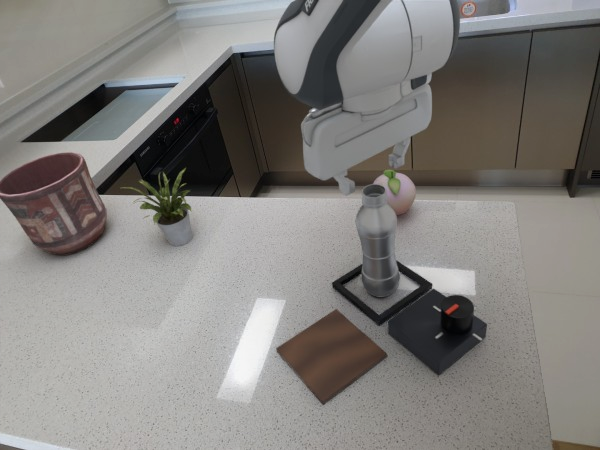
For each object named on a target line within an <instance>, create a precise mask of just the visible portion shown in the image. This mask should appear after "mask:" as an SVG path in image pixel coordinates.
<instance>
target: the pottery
mask: <svg viewBox="0 0 600 450" xmlns="http://www.w3.org/2000/svg"><path fill="white" fill-rule="evenodd" d="M0 200H1V201H2V202H3V204H4V205H5V206H6V208H7V209H8V211H10V213H11V214H12V215H13V216H14V218H15V219H16V221H17V222H18V224H19V225H20V226H21V229H22V230H23V231H24V233H25V234H26V237H28V239H29V240H30V242H31V243H32V244H33V245H34V246H35V247H36V248H37V249H40V250H42V251H44V252H46V253H49V254H54V255H58V256H67V255H71V254H77V253H78V252H81V251H83V250H86V249H87V248H88V247H90V246H92V245H93V244H94V243H95V242H96V241H98V240H99V238H100V236H101V235H102V234H103V232H104V230H105V228H106V222H107V215H108V213H107V208H106V206H105V203H104V202H103V200H102V198H101V196H100V194H99V192H98V190H97V188H96V186H95V183H94V180H93V178H92V176H91V174H90V171H89V167H88V164H87V162H86V158H84V156H83V155H82V154H81V153H77V152H72V151H70V152H69V151H68V152H57V153H53V154H48V155H43V156H41V157H38V158H35V159H32V160H30V161H28V162H26V163H23V164H22V165H19V166H18V167H16V168H14V169H12V170H11V171H10V172H8V173H7V174H5V175H4V176H3V177H2V178H1V179H0Z"/></svg>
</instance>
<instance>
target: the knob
mask: <svg viewBox="0 0 600 450" xmlns="http://www.w3.org/2000/svg"><path fill="white" fill-rule="evenodd" d="M474 307H475V305H474V303H473V302H472V300H470V299H469V298H468V297H467V296H465V295H460V294H452V295H448V296H446V298H445V299H444V300H443V301H442V303H441V325H442V327H443V328H444V329H445V330H446V331H448V332H450V333H453V334H464V333H467V332H468V331H470V329H471V328H472V325H473V315H475V314H474V313H475V310H474Z"/></svg>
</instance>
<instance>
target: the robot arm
mask: <svg viewBox="0 0 600 450" xmlns="http://www.w3.org/2000/svg"><path fill="white" fill-rule="evenodd" d="M460 26H461V14H460V6H459V3H458V0H293V1H292V2H289V4H288V5H287V7H286V9H285V10H284V11H283V14H282V15H281V16H280V19H279V21H278V23H277V26H276V28H275V30H274V31H275V32H274V36H273V53H274V61H275V65H276V69H277V73H278V76H279V79H280V82H281V83H282V86H283V88H284V89H285V91H286V92H287V94H289V95H290V96H291V97H292V98H294V99H296V100H297V101H299V102H300V103H302V104H304V105H306V106H308V107H310V108H311V109H310V110H308V114H307V115H305V117H304V118H303V121H302V122H301V123H300V129H301V136H302V155H303V165H304V169H305V171H306V172H307V173H308V174H309V175H311V176H312V177H314V178H317V179H319V180H321V181H323V182H324V181H327V180H330V179H331V178H333V179H334V180H335V181H336V183H337V182H338V190H339V192H340V193H341V194H342V195H344V196H345V197H347V196H349V195H351V194H353V193H355V192H356V188H355V187H356V183H355V181H354V180H353V179H350V178H348V177H346V176H348V170H349V169H351V168H352V167H355V166H357V165H358V164H360V163H362V162H364V161H367V160H368V159H370V158H372V157H374V156H376V155H378V154H380V153H382V152H384V151H386V150H388V149H389V148H392V147H393V150H392V153H390V154H388V165H389V167H391V168H393V169H395V170H396V169H398V168H401V167H403V166H404V165H405V155H406V154H407V151H408V149H409V146H410V144H411V137H413V136H415V135H417V134H418V133H421V132H422V131H425V130H426V129H427V128H428V127H429V125H430V123H431V121H432V116H433V115H432V114H433V94H432V88H431V86H430V82H431V80H432V75H433V73H434V72H436V71H438V70H441V69H443V68H444V67H445V66H446V65H447V64H448V63H449V61H450V59H451V58H452V57H453V54H454V52H455V50H456V48H457V45H458V41H459V36H460V29H461V27H460Z"/></svg>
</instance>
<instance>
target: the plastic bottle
mask: <svg viewBox="0 0 600 450" xmlns="http://www.w3.org/2000/svg"><path fill="white" fill-rule="evenodd" d="M387 201H388V198H387V192H386V188H385V187H384V186H382V185H380V184H373V183H371V184H368V185H365V186H364V187H363V188H362V190H361V204H362V205H361V207H359V210H358V211H357V213H356V216H355V220H354V221H355V222H354V223H355V226H356V227H355V228H356V230H357V234H358V238H359V241H360V248H361V253H362V256H361V257H362V260H361V261H362V263H361V264H362V272H361V275H360V280H361V284H362V286H363V289H364V290H365V291H366V292H367V293H369V294H370V295H371V296H373V297H377V298H385V297H389V296H390V295H392V294H393V293H394V292H396V290H397V289H398V288H399V285H400V279H401V275H400V274H401V273H400V272H399V270H398V266H397V263H396V260H397V257H396V235H397V226H398V215H396V214H395V211H394V210H393V209H392V207H391V206H390V205H389V204H388V203H387Z"/></svg>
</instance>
